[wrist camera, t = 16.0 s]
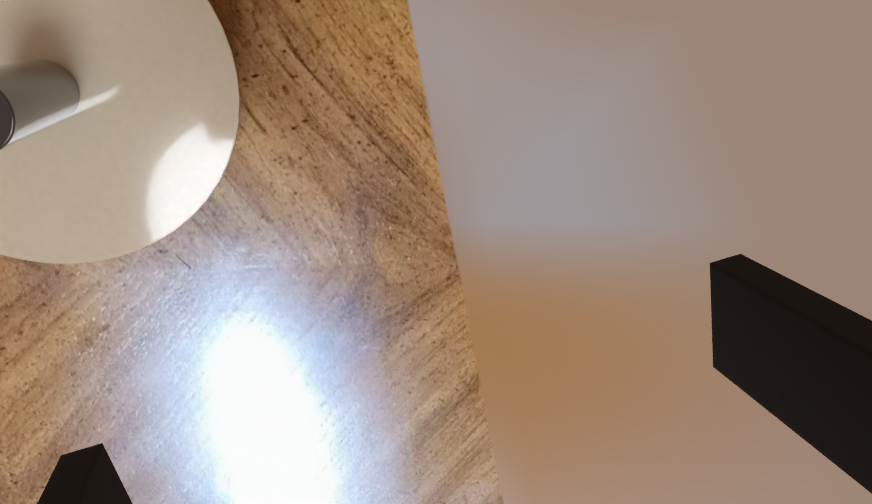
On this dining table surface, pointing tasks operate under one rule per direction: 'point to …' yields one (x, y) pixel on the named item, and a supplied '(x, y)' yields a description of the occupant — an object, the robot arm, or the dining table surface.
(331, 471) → the dining table surface
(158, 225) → the lid
